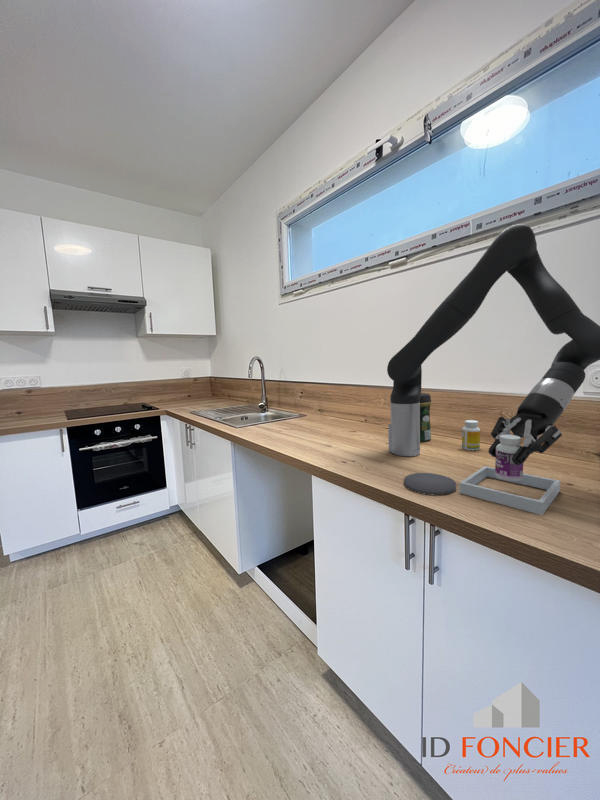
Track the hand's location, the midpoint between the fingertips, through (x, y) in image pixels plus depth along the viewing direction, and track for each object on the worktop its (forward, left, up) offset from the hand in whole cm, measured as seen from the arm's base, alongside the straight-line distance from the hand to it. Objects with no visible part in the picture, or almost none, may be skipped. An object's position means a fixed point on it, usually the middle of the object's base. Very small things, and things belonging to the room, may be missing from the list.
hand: (503, 458), depth 71 cm
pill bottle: (+1, +2, -5) cm, 5 cm away
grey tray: (+1, +2, -8) cm, 8 cm away
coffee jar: (-39, +34, -8) cm, 52 cm away
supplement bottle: (-19, +33, -8) cm, 39 cm away
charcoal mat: (-14, -6, -8) cm, 17 cm away
